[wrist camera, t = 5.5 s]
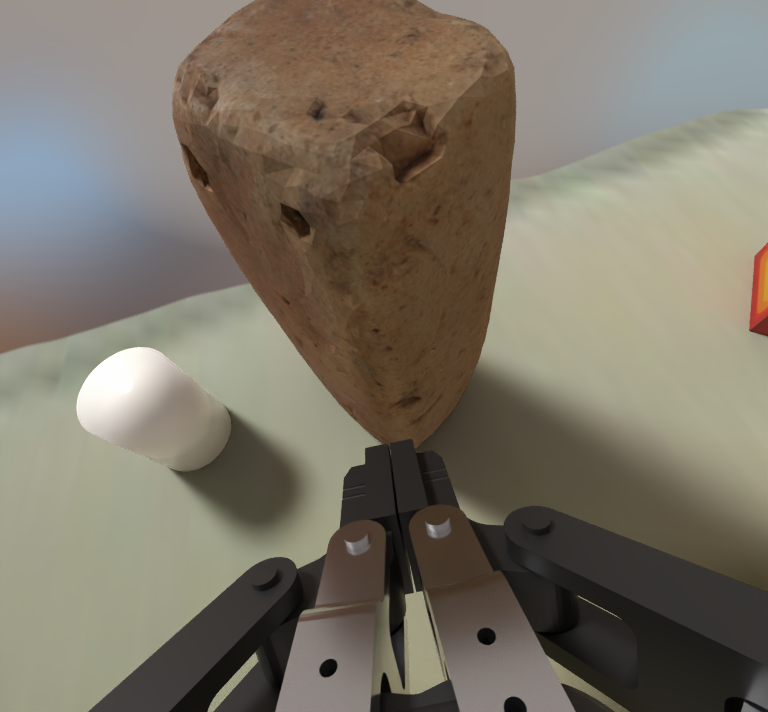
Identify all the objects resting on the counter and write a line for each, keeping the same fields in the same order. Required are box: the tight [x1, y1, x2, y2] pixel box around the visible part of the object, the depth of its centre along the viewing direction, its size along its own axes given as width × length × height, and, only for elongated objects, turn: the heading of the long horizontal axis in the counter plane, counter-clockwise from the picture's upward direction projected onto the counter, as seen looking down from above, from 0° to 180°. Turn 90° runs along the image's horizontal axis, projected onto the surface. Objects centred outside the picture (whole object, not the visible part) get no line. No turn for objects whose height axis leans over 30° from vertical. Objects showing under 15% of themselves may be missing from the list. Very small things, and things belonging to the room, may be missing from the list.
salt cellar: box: [77, 347, 231, 471], centre depth 24 cm, size 5×5×7 cm
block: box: [172, 0, 516, 449], centre depth 19 cm, size 11×8×20 cm
